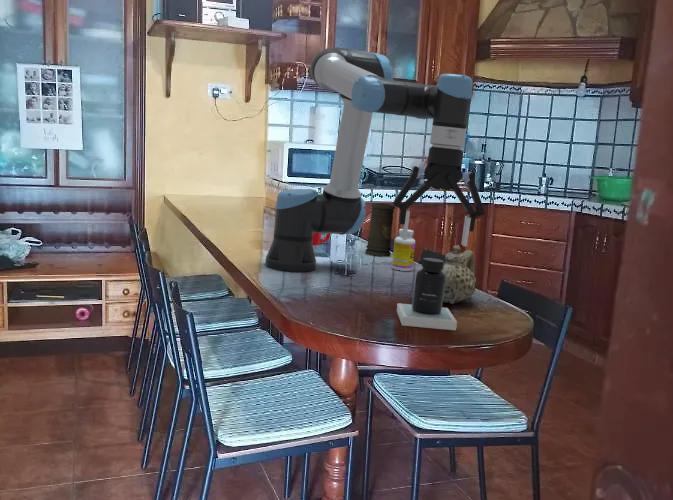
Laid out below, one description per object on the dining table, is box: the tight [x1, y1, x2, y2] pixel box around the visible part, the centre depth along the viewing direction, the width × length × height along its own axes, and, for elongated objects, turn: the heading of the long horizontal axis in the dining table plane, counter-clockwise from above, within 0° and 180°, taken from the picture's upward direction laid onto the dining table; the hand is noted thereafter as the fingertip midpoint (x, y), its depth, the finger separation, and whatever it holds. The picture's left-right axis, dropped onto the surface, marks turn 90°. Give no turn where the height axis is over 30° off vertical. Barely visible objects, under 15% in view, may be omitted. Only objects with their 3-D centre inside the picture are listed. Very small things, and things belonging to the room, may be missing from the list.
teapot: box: [442, 244, 477, 305], centre depth 171 cm, size 21×12×15 cm, turn 148°
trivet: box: [396, 302, 458, 331], centre depth 150 cm, size 12×12×2 cm
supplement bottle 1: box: [391, 228, 416, 272], centre depth 209 cm, size 7×7×13 cm
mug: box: [312, 233, 331, 246], centre depth 244 cm, size 8×12×8 cm, turn 116°
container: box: [364, 203, 396, 257], centre depth 233 cm, size 9×9×18 cm
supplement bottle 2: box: [411, 257, 446, 315], centre depth 149 cm, size 7×7×12 cm
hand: (434, 242), depth 147 cm, fingers open, 13 cm apart
